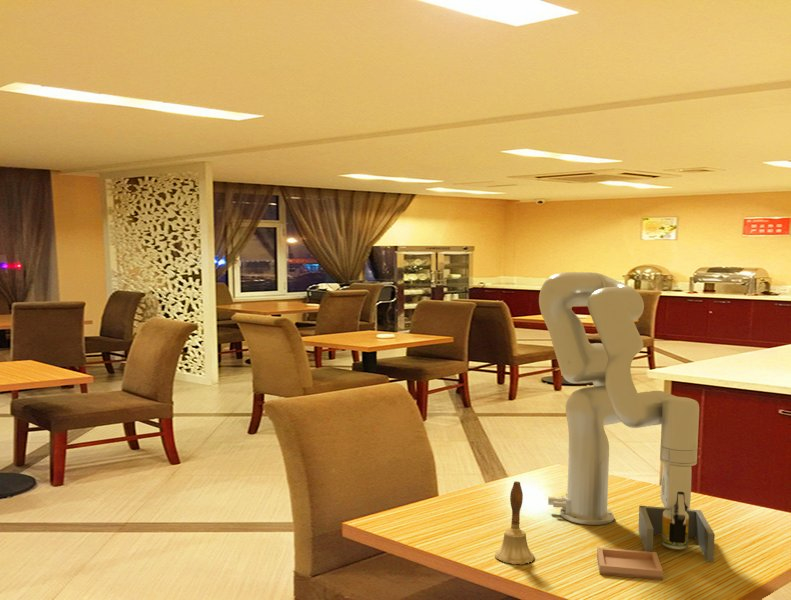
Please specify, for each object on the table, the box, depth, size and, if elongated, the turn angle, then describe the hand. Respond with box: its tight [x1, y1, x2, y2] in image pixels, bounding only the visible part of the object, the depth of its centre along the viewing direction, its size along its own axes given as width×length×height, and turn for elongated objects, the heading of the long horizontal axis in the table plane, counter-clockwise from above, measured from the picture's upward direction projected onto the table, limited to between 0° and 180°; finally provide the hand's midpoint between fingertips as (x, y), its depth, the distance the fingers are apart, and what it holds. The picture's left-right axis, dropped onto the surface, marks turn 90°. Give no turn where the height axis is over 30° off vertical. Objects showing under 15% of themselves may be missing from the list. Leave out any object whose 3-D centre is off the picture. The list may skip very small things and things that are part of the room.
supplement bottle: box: [661, 504, 689, 550], centre depth 171 cm, size 5×5×10 cm
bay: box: [637, 505, 716, 563], centre depth 173 cm, size 13×16×6 cm
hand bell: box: [494, 481, 536, 565], centre depth 164 cm, size 8×8×16 cm
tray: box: [596, 546, 664, 581], centre depth 160 cm, size 12×10×2 cm
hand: (674, 536), depth 171 cm, fingers closed on supplement bottle, 5 cm apart
